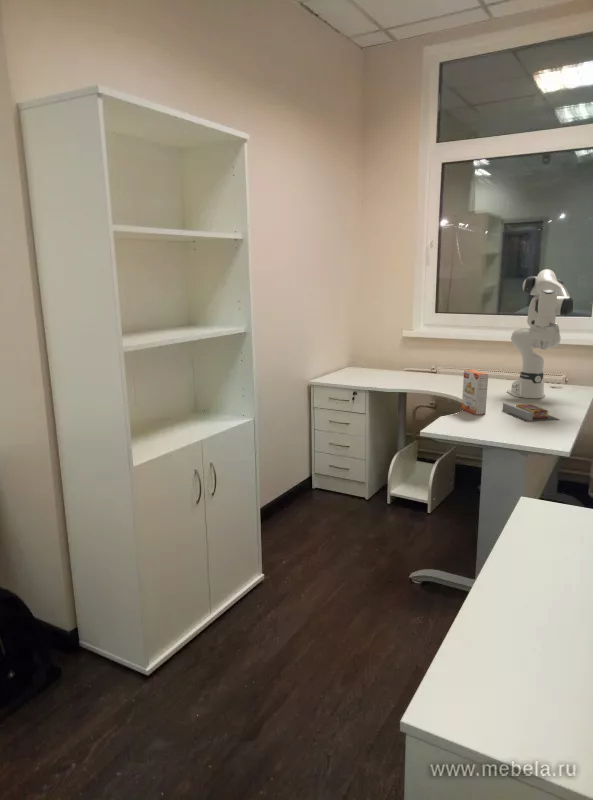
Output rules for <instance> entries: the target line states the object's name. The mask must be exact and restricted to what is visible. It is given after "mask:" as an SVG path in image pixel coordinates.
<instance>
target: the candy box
mask: <svg viewBox="0 0 593 800" xmlns="http://www.w3.org/2000/svg"><path fill="white" fill-rule="evenodd" d="M515 406H516V407H519V408H521V409H524V410H526V411H529V412H531V413H533V419H547V418H548V415H549V410H546V409H544V408H542V407H540V406H537V405H535V404H532V403H531V404H515Z"/></svg>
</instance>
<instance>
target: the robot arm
mask: <svg viewBox="0 0 593 800" xmlns="http://www.w3.org/2000/svg"><path fill="white" fill-rule="evenodd" d="M522 292H523V293H524V294H525V295H528V296H530V295H531V296H533V297H532V298H531V301H530V303H529V307H528V310H527V312H528V313H527V320H526V322H527V325H528V327H529V328H527V327H526V328H525V327H524V328H517V329H515V330H514V331H513V332H512V333H511V336H510V340H511V343H512V345H513V346H514V347H516V348H517V350H518V351H519V352H520V354H521V357H522V367H521V371H520V372H519V377H518V378H517V379H516V380H515V381H513V382H512V383H511V389H507V390H506V393H508V394H510V395H512V396H514V397H516V398H524V399H543V398H544V397H546V393H545V382H544V381H543V379H544V363H545V361H544V358H543V357H542V356H541V355H539V354H538V353H536V352H535V351H534V349H540V350H548V349H555V348H557V347H558V346H559V345H560V343H561V338H562V337H561V334H560V333H561V332H560V327H559V325H558V324H557V323H556V318H557V316H563V317H568V316H569V315H570V314H572V313H573V311H574V309H575V302H574V299H573V298H572V297H571V295H570V293H569V292H568V289H567V287H566V286H565V285H564V281H563V280H562V279H560V278H557V275H556V274H555V272H554V271H553V270H551V269H550V268H548V269H547V268H545V269H543V270H541V271H540V272H538V274H537V276H534V275H532V276H528V277H525V279H524V281H523V283H522Z"/></svg>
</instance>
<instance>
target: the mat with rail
mask: <svg viewBox="0 0 593 800" xmlns="http://www.w3.org/2000/svg"><path fill="white" fill-rule="evenodd" d="M502 410H503V412H505V413H507V415H508V416H511V415H512V416H511V417H514V418H516V419H518V418H519V420H521V421H523V420H524V421H523V422H526V421H528V422H545V421H546V420H548V421H560V418H558V417H555V416H552V415H550V414H548V418H547V419H533V413H531V412H529V411H526V410H524V409H521V408H519V407H516V405H514V404H510V403H508V402H503V403H502Z"/></svg>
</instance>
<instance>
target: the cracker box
mask: <svg viewBox="0 0 593 800" xmlns="http://www.w3.org/2000/svg"><path fill="white" fill-rule="evenodd" d="M488 382H489V374H488V373H486V372H483V371H479V370H476V369H463V379H462V383H463V384H462V398H461V399H462V400H461V409H462V410H464V411H466V412H468V413H470V414H472V415H474V414H475V416H482V415H486V411H487V410H486V409H487V398H488V396H487V395H488Z"/></svg>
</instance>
